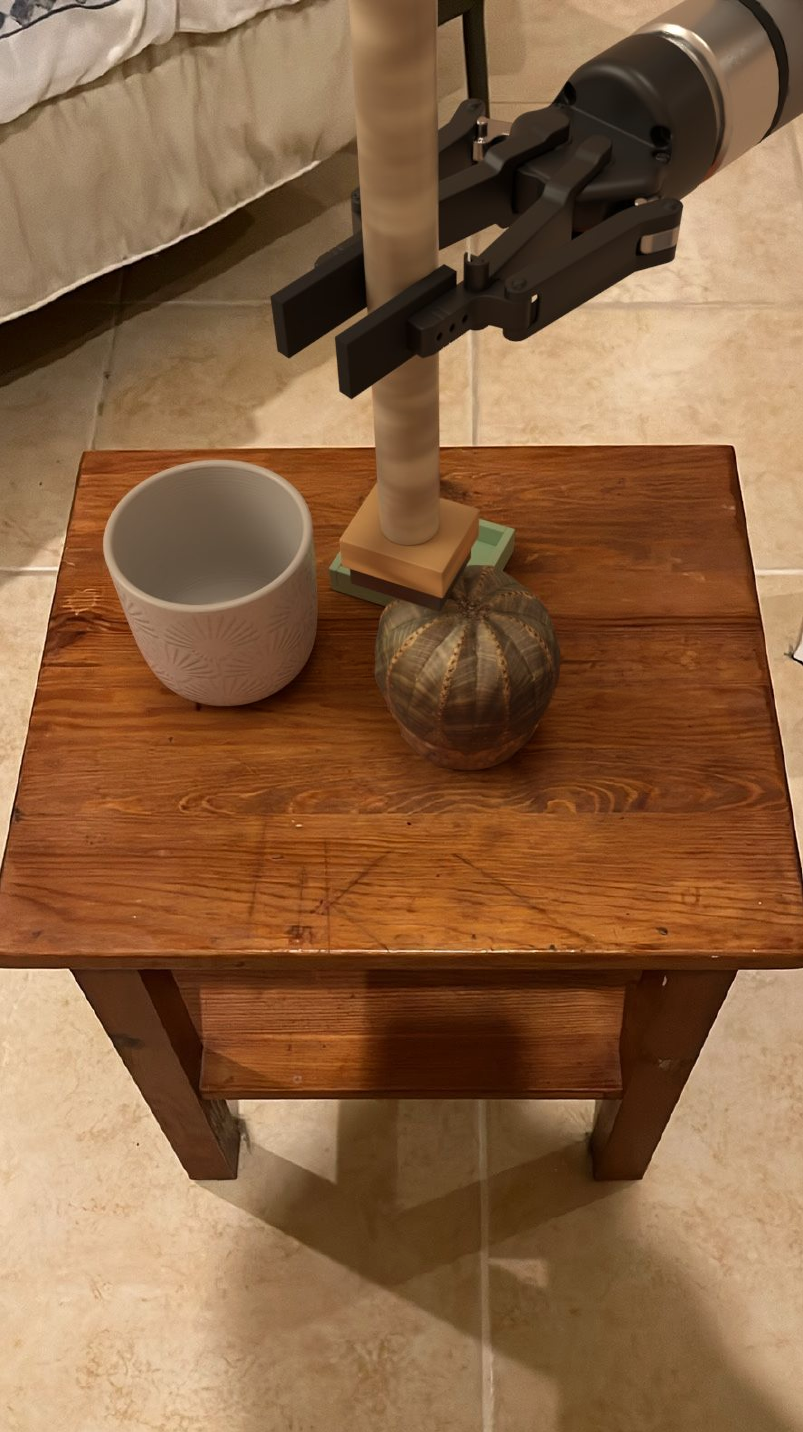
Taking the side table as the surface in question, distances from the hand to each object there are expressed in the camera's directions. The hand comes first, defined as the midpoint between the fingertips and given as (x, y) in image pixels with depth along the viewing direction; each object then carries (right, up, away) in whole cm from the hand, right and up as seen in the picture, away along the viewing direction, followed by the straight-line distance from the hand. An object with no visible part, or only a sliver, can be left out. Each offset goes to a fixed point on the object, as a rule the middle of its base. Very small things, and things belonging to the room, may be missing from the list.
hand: (312, 347), depth 54 cm
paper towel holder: (+4, -6, +17) cm, 18 cm away
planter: (-7, -8, +31) cm, 33 cm away
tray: (+5, -2, +34) cm, 34 cm away
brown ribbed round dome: (+8, -13, +27) cm, 31 cm away
